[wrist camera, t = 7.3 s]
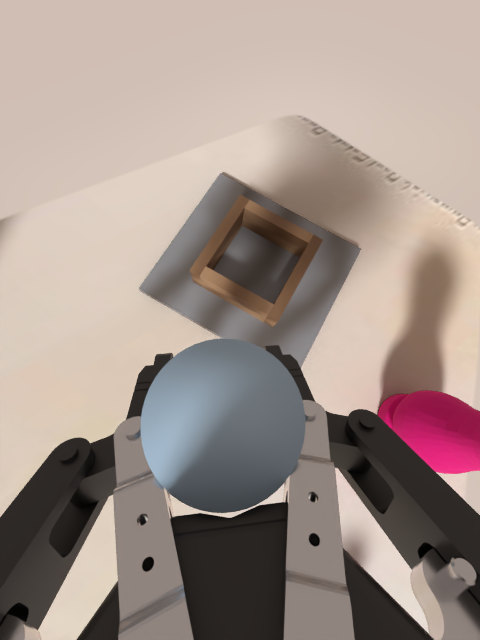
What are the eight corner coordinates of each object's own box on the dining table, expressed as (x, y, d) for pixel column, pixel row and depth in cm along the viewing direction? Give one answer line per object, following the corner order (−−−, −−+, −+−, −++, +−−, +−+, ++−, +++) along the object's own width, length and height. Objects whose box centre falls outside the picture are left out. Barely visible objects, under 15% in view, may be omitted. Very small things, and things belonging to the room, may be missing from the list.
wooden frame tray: (141, 291, 32) (128, 276, 28) (220, 178, 36) (220, 150, 32) (292, 379, 31) (304, 378, 26) (357, 252, 35) (376, 233, 30)
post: (173, 411, 18) (105, 454, 7) (210, 351, 19) (198, 310, 8) (233, 447, 18) (256, 549, 7) (267, 385, 19) (332, 388, 8)
